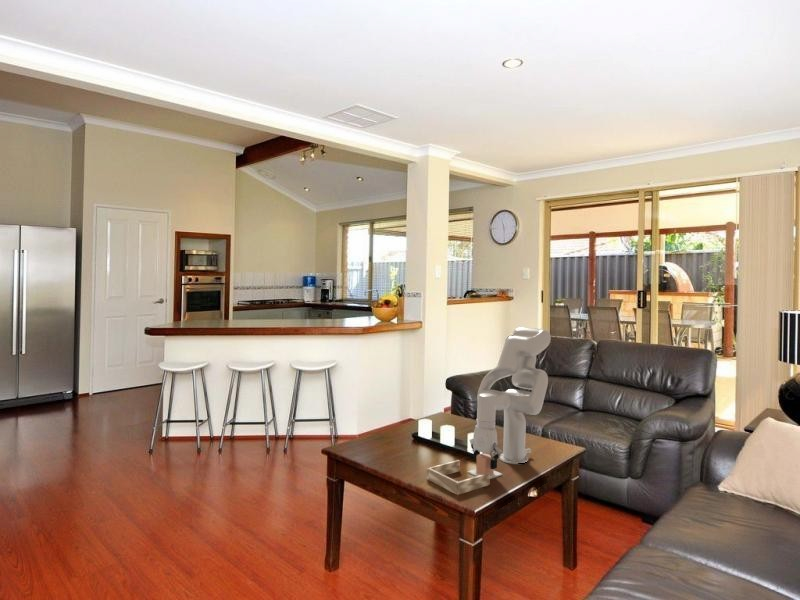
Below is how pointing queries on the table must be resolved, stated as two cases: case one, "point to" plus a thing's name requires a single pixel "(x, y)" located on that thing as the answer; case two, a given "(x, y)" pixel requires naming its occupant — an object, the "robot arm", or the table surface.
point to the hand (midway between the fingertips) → (484, 464)
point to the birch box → (439, 478)
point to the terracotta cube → (484, 464)
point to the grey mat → (473, 472)
